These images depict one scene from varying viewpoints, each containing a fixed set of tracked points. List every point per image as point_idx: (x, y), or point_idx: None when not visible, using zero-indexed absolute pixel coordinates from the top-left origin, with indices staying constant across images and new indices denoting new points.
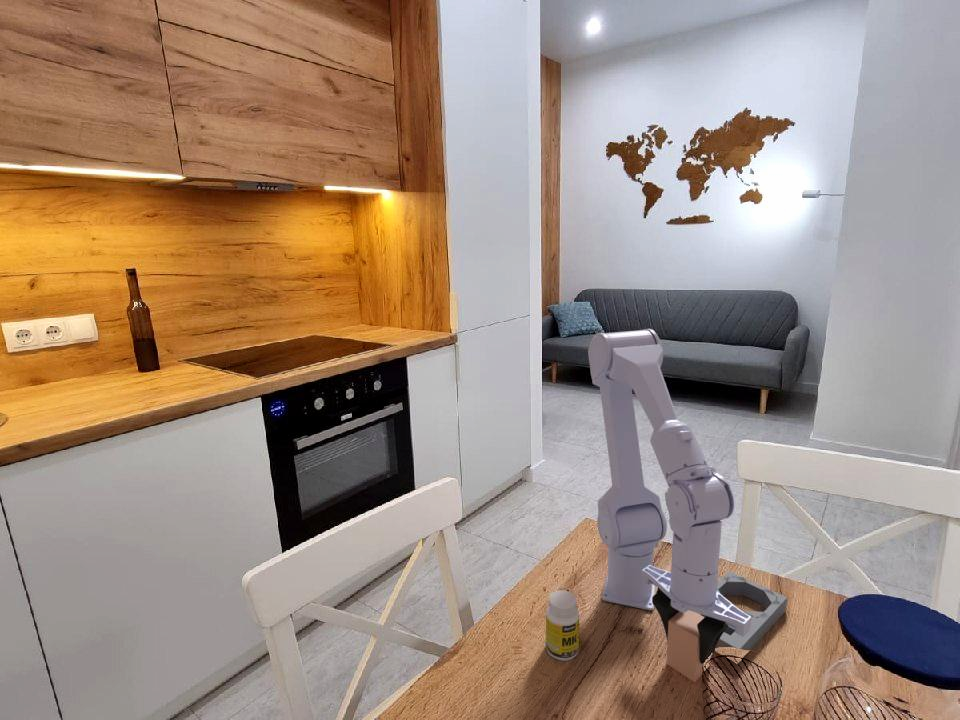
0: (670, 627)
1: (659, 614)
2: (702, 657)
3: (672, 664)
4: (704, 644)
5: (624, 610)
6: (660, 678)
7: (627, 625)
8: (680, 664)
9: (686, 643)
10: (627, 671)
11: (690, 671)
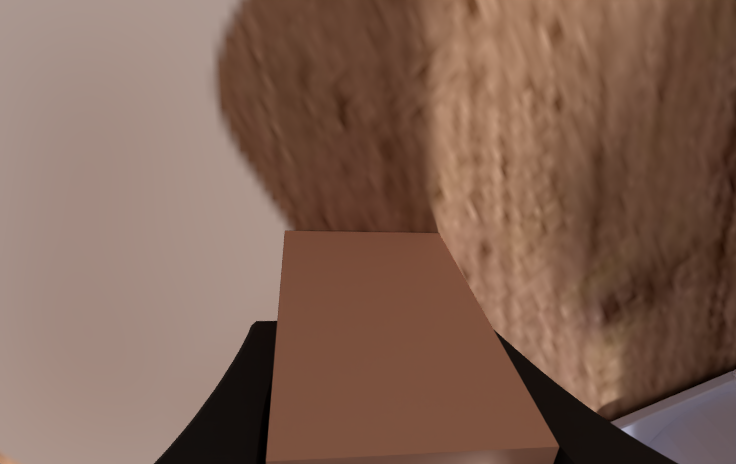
0: (514, 400)
1: (646, 447)
2: (257, 348)
3: (410, 241)
4: (217, 437)
5: (704, 355)
6: (421, 131)
7: (669, 297)
8: (371, 255)
9: (360, 362)
10: (581, 41)
11: (311, 253)
